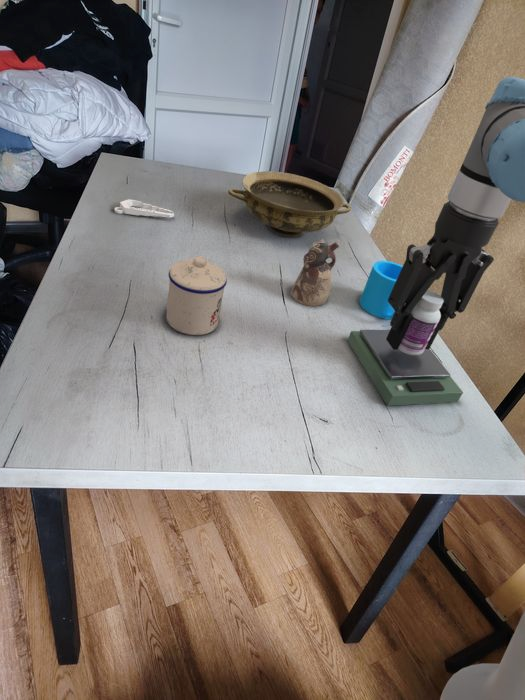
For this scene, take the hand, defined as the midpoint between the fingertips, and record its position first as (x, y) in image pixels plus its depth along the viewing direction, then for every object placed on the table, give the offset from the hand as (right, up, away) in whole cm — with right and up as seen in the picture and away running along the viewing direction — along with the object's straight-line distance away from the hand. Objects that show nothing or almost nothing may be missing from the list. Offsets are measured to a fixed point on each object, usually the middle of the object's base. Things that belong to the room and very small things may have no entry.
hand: (407, 344), depth 78 cm
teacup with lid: (-36, +5, +3) cm, 36 cm away
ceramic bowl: (-18, +29, +39) cm, 51 cm away
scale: (-1, -4, +2) cm, 5 cm away
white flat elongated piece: (-50, +30, +30) cm, 66 cm away
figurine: (-15, +9, +16) cm, 23 cm away
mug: (0, +6, +16) cm, 17 cm away
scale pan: (0, -2, +1) cm, 2 cm away
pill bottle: (0, 0, 0) cm, 1 cm away
